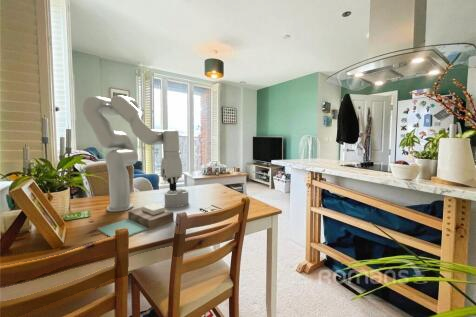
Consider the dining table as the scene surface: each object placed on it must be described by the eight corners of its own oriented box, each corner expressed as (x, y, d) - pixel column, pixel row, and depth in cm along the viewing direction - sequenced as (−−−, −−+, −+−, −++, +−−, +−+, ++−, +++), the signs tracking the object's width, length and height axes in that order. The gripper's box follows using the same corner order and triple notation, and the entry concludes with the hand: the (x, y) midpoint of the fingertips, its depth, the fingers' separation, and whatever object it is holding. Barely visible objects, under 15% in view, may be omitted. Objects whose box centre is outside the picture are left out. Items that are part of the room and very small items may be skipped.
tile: (142, 210, 103) (142, 206, 102) (153, 207, 108) (153, 203, 107) (153, 214, 97) (153, 210, 97) (164, 211, 102) (164, 207, 102)
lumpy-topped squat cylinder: (190, 203, 126) (190, 189, 125) (169, 208, 117) (169, 193, 116) (181, 199, 133) (181, 186, 132) (161, 204, 124) (160, 189, 123)
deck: (128, 219, 102) (128, 210, 102) (151, 211, 112) (151, 204, 111) (150, 229, 92) (150, 220, 91) (173, 220, 101) (173, 212, 101)
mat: (97, 229, 91) (97, 228, 91) (128, 219, 101) (128, 218, 101) (116, 241, 81) (115, 239, 81) (147, 229, 92) (147, 227, 92)
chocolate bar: (221, 218, 104) (199, 208, 117) (221, 220, 104) (199, 210, 117) (234, 213, 111) (212, 205, 123) (234, 215, 111) (212, 206, 123)
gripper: (178, 153, 116) (180, 186, 118) (153, 155, 104) (155, 192, 106) (188, 153, 112) (189, 188, 114) (163, 156, 100) (165, 195, 102)
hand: (173, 190), depth 110 cm, fingers closed
